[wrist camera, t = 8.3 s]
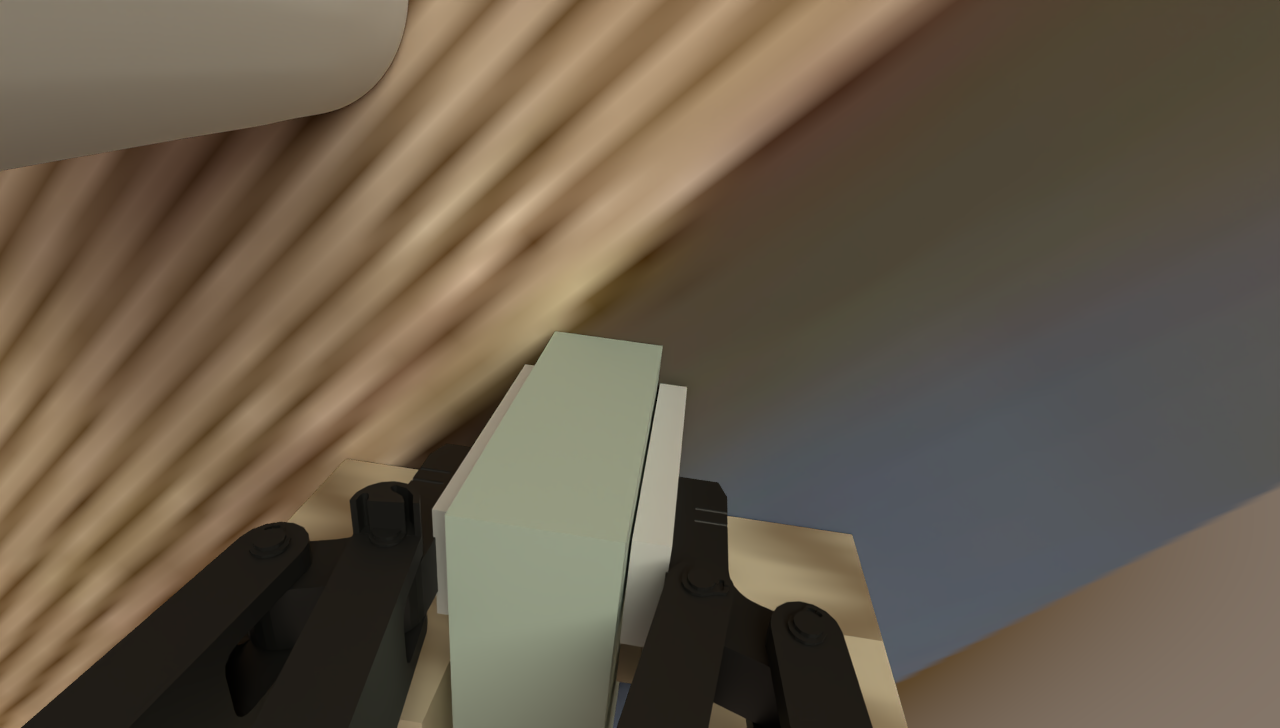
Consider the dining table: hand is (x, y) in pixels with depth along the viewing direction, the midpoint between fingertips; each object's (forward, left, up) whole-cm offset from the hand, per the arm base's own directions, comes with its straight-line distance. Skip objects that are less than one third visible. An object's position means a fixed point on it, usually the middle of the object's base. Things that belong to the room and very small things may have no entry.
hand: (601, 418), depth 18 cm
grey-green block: (0, -5, 0) cm, 5 cm away
